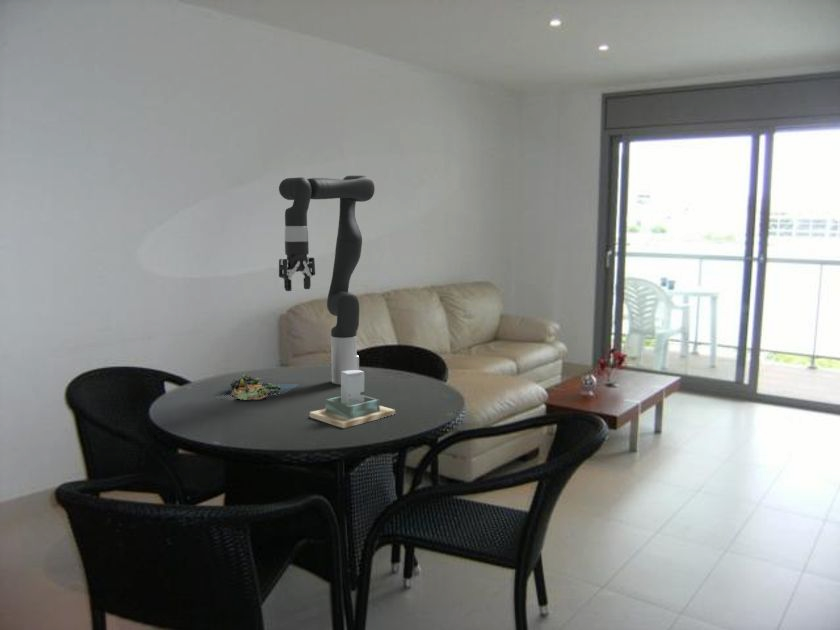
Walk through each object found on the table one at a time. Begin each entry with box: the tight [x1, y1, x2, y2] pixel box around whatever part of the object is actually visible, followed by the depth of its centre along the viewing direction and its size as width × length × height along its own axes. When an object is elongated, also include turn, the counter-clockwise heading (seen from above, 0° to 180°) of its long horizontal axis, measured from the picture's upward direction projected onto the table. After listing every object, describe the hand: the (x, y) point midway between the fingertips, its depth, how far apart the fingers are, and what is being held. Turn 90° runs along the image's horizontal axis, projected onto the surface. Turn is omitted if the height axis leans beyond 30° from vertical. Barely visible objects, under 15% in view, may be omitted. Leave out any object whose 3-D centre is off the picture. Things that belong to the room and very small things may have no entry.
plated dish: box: [214, 373, 300, 401], centre depth 228 cm, size 35×28×7 cm
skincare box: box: [340, 369, 365, 406], centre depth 199 cm, size 6×4×12 cm
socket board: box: [309, 395, 396, 429], centre depth 200 cm, size 20×16×5 cm
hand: (297, 289), depth 217 cm, fingers open, 8 cm apart
